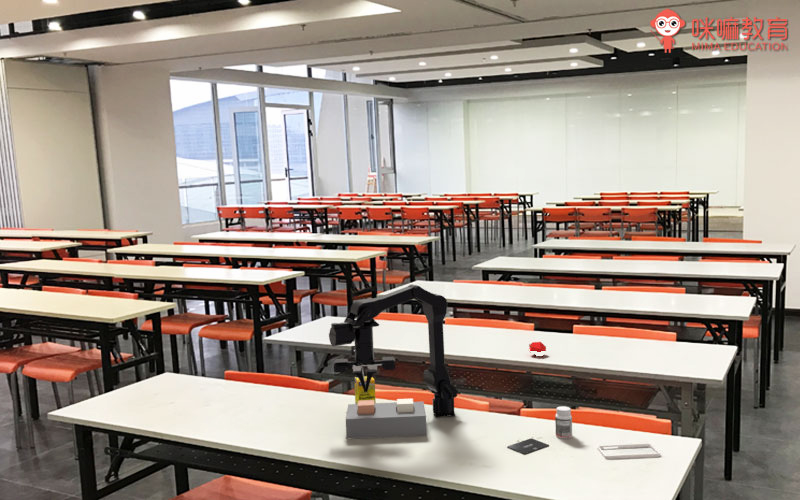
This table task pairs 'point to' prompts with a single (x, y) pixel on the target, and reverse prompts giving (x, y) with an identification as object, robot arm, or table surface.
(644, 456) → the phone case
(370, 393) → the supplement box
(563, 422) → the pill bottle
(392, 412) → the key console
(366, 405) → the terracotta key
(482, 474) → the table surface
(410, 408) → the ivory key
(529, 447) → the solid state drive
